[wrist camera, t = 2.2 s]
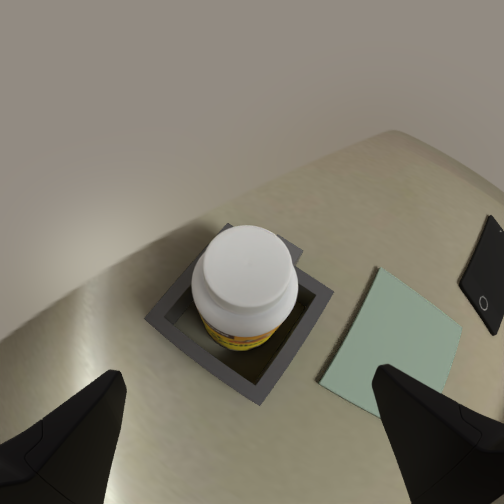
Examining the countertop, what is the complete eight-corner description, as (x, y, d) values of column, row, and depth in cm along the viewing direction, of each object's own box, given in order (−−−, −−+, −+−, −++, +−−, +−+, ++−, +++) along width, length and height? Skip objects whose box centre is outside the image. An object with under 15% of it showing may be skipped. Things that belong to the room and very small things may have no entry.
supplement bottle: (194, 339, 20) (163, 301, 11) (217, 276, 22) (209, 197, 13) (265, 361, 19) (296, 341, 10) (283, 295, 22) (319, 227, 13)
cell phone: (455, 286, 24) (460, 283, 23) (487, 216, 30) (491, 213, 29) (490, 338, 21) (496, 336, 20) (516, 257, 27) (519, 254, 26)
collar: (255, 402, 18) (259, 406, 15) (155, 327, 20) (143, 318, 17) (330, 288, 22) (343, 275, 20) (238, 229, 24) (240, 209, 22)
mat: (418, 437, 16) (421, 437, 16) (318, 383, 19) (319, 383, 18) (460, 328, 21) (462, 327, 21) (378, 268, 24) (380, 266, 23)
